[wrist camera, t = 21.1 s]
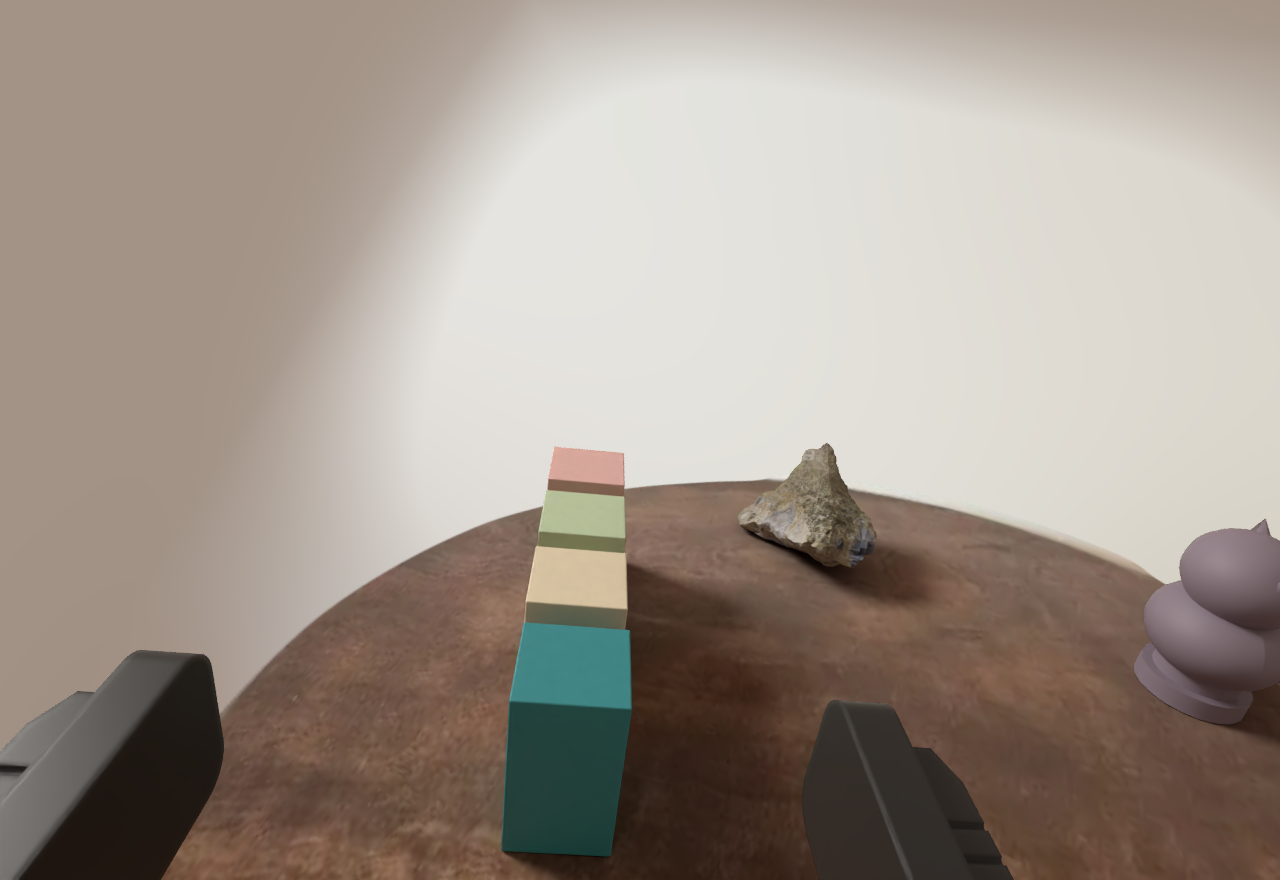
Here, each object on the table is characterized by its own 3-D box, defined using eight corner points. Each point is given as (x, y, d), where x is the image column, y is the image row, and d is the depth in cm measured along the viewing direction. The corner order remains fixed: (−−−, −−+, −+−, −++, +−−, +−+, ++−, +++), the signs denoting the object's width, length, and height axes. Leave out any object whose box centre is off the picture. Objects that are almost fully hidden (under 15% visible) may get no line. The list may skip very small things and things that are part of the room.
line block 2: (610, 661, 45) (625, 538, 41) (529, 655, 44) (538, 531, 41) (610, 610, 49) (624, 496, 46) (537, 605, 49) (546, 489, 45)
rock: (725, 509, 62) (811, 430, 61) (760, 545, 65) (842, 471, 65) (792, 585, 52) (894, 493, 52) (829, 624, 56) (926, 537, 55)
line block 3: (609, 744, 39) (627, 609, 35) (517, 738, 38) (525, 601, 35) (610, 678, 43) (626, 552, 40) (527, 672, 43) (535, 545, 39)
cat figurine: (1109, 632, 54) (1176, 492, 49) (1232, 669, 51) (1315, 525, 46) (1133, 706, 46) (1214, 551, 42) (1277, 754, 44) (1382, 594, 39)
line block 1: (611, 597, 51) (624, 485, 47) (540, 592, 50) (548, 478, 47) (611, 557, 55) (623, 452, 52) (546, 552, 55) (554, 446, 51)
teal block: (610, 857, 33) (632, 709, 29) (500, 852, 32) (508, 700, 29) (611, 767, 37) (630, 629, 34) (515, 761, 37) (523, 621, 33)
